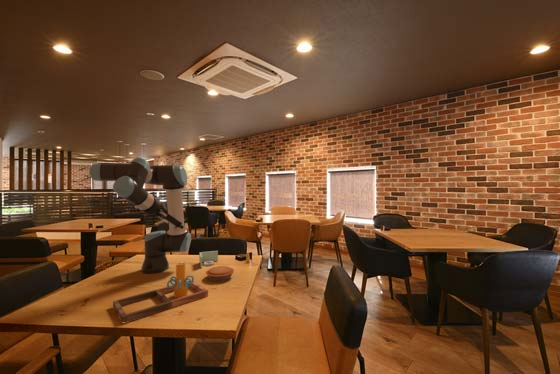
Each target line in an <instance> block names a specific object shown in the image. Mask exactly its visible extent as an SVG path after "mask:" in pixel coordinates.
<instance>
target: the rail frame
mask: <svg viewBox="0 0 560 374" xmlns="http://www.w3.org/2000/svg"><path fill="white" fill-rule="evenodd" d="M191 281H192V279H191ZM187 282H188V283H190V281H189V280H187ZM187 285H188V286H189V285H190V284H187ZM169 286H170V287H173V286H174V285H172V284H171V285H169ZM190 288H191V289H193V290H194V291H196V292H194V293H191V294H188V295H187V296H184V297H181V298H174V299H170V298H168V297H167V296H166V294H168V293H171V292H174V288H172V289H170V288H168V287H167V286H165V287H161V288H158V289H152V290H148V291H146V292H141V293H138V294H134V295H131V296H130V295H129V296H127V297H123V298H120V299H116V300H113V301H112V307H114V308H113V309H115V310H114V312H115V313H116V312H117V313H116V314H118V315H117V316H119V317H120V318H119V317H118V318H119V320H120V319H121V320H120V322H121V321H122V322H127V321H130V322H132V321H131V320H133V321H135V320H134V319H136V320H139V319H142V318H144V317H148V316H151V315H154V314H157V313H161V312H162V311H166V310H170V309H171V308H175V307H178V306H181V305H185V304H187V303H190V302H194V301H197V300H200V299H203V298H205V297H208V296H209V290H208V289H207V288H205V287H204V286H201V285H200V284H198V283H197V282H195V281H193V282H192V285H191V287H190ZM155 297H156V299H158V300H159V301H160V302H161V303H158V304H156V305H152V306H148V307H145V308H142V309H139V310H136V311H133V312H129V313H126V312H125V310H124V308H123V306H126V304H127V305H130V304H133V302H134V303H137V302H141V301H144V300H147V299H151V298H155ZM141 317H142V318H141ZM138 318H139V319H138ZM122 322H121V323H122ZM127 323H128V322H127Z"/></svg>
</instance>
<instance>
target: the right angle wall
mask: <svg viewBox="0 0 560 374" xmlns="http://www.w3.org/2000/svg"><path fill="white" fill-rule="evenodd" d="M198 258H199V267H200V269H203V266H204V267H212V266H214V265H215V262H219V250H211V251H201V252H200V251H199V257H198ZM214 261H215V262H214ZM202 262H204V263H202ZM207 263H208V264H207ZM213 264H214V265H213ZM211 265H212V266H211Z"/></svg>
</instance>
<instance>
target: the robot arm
mask: <svg viewBox="0 0 560 374" xmlns="http://www.w3.org/2000/svg"><path fill="white" fill-rule="evenodd" d="M89 177H90V178H91V179H92V180H93V181H95V182H114V183H113V184H112V190H113V191H114V192H115V193H116V194H117V195H118V197H119V196H120V197H121V198H122V199H124V200H125V201H127V202H129V203H130V204H132V205H133V206H134V208H135V209H139V210H141V211H142V212H143V213H145V215H148V216H152V215H155V216H156V217H158V219H160V220H162V221H164V222H165V223H166V224H168V226H169V229H168V230H167V231H166V230H157V231H151V232H149V233H146V234H145V235H144V240H143V241H144V260H143V263H142V266H141V273H144V274H155V273H162V272H165V271H167V270H168V269H169V268H170V263H169V261H168V259H167V258H168V257H167V254H166V253H185V252H187V251H189V248H190V246H191V242H192V241H191V240H192V235H191V233H190V232H188V227H187V226H186V225H185V216H184V202H183V201H184V200H183V190H184V188H185V186H186V185H187V183H188V175H187V171H186V169H185V167H184V166H182V165H178V164H177V165H175V164H169V165H168V164H162V165H161V164H160V165H159V164H156V165H151V164H150V163H149V161H148V160H147V159H144V158H142V157H136V158H133V159H132V160H131V161H130V163H122V162H121V163H120V162H119V163H111V162H110V163H108V162H107V163H106V162H105V163H103V162H100V163H99V162H98V163H93V164H91V166H90V167H89ZM145 184H147V185H153V186H162V189H163V190H164V191H165V194H166V195H165V196H166V204H167V210H165V209H164V208H162V207H160V206H161V201H159V200H158V199H157V197H154V195H152V194H151V193H150V192H149V191H147V190H146V189H145V188H144V186H145Z"/></svg>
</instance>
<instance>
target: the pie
mask: <svg viewBox="0 0 560 374" xmlns="http://www.w3.org/2000/svg"><path fill="white" fill-rule="evenodd" d="M234 271H235V269H234V268H233V267H230V266H227V265H226V266H225V265H222V266H220V265H219V266H213V267H212V268H209V269H207V270H206V271H205V275H207V276H208V278H209V280H210V281H212V282H225V281H227V280H229V279H230V278H231V277H232V275H233V274H234Z"/></svg>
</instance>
